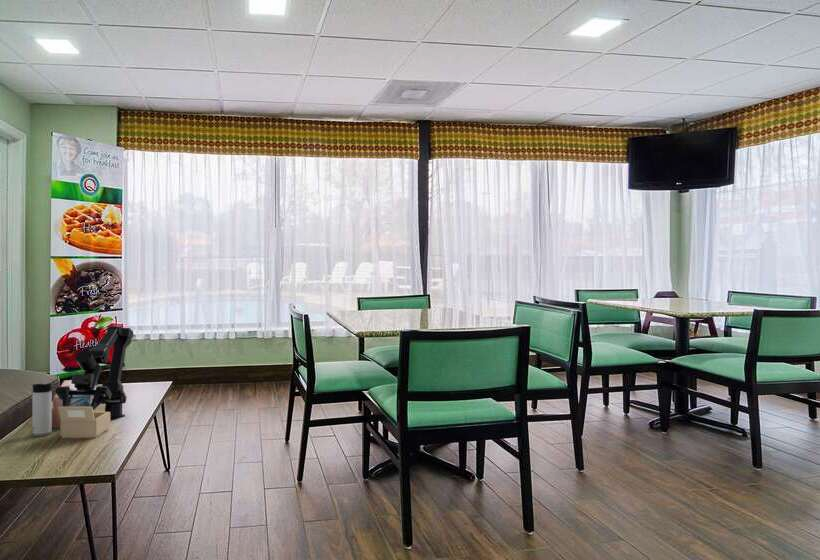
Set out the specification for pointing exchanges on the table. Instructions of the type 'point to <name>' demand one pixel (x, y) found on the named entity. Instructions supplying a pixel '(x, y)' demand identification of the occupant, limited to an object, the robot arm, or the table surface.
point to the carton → (86, 426)
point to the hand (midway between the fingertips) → (76, 412)
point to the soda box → (75, 402)
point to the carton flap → (76, 413)
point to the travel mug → (42, 410)
